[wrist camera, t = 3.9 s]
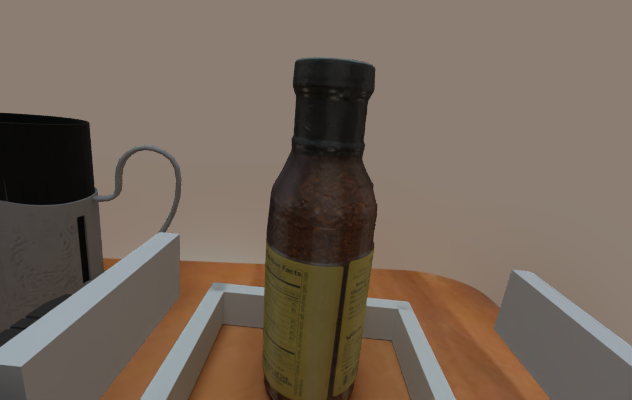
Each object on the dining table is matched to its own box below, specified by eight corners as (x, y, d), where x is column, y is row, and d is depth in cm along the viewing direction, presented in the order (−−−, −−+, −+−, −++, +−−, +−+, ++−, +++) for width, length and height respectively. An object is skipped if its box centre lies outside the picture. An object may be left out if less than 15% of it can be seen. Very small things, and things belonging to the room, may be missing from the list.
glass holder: (10, 287, 27) (-20, 109, 23) (186, 278, 31) (186, 127, 28) (-77, 364, 19) (-145, 112, 15) (175, 338, 23) (173, 137, 20)
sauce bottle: (331, 342, 25) (369, 77, 20) (371, 412, 19) (438, 68, 14) (248, 357, 22) (266, 60, 17) (266, 442, 17) (301, 40, 12)
